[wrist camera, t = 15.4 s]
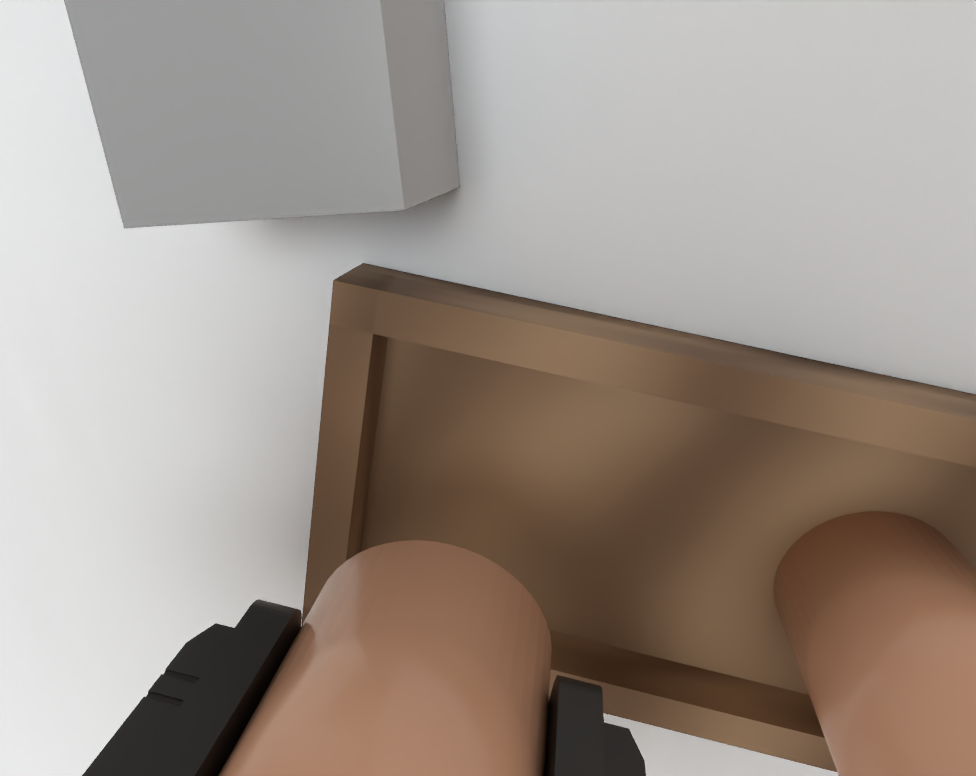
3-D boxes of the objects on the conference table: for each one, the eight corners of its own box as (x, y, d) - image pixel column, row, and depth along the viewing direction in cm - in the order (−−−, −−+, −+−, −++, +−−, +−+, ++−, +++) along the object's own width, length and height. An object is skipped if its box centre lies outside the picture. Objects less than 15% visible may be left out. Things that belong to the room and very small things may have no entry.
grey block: (438, -70, 13) (360, -174, 9) (460, 186, 15) (404, 210, 11) (213, -40, 14) (32, -121, 10) (258, 200, 16) (124, 228, 11)
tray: (1129, 427, 15) (1206, 469, 13) (936, 740, 19) (974, 806, 17) (363, 263, 16) (333, 280, 14) (327, 589, 20) (300, 635, 18)
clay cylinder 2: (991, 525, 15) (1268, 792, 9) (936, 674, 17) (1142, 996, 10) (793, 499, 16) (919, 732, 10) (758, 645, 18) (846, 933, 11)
